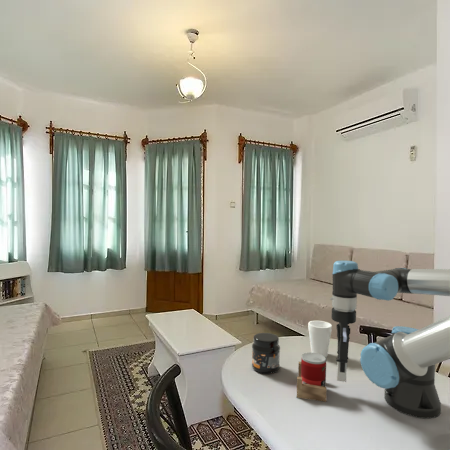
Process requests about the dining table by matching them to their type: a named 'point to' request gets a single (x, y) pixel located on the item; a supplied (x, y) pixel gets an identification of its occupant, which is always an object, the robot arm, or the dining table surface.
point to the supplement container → (265, 353)
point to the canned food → (313, 369)
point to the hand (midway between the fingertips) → (341, 380)
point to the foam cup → (319, 336)
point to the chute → (309, 389)
